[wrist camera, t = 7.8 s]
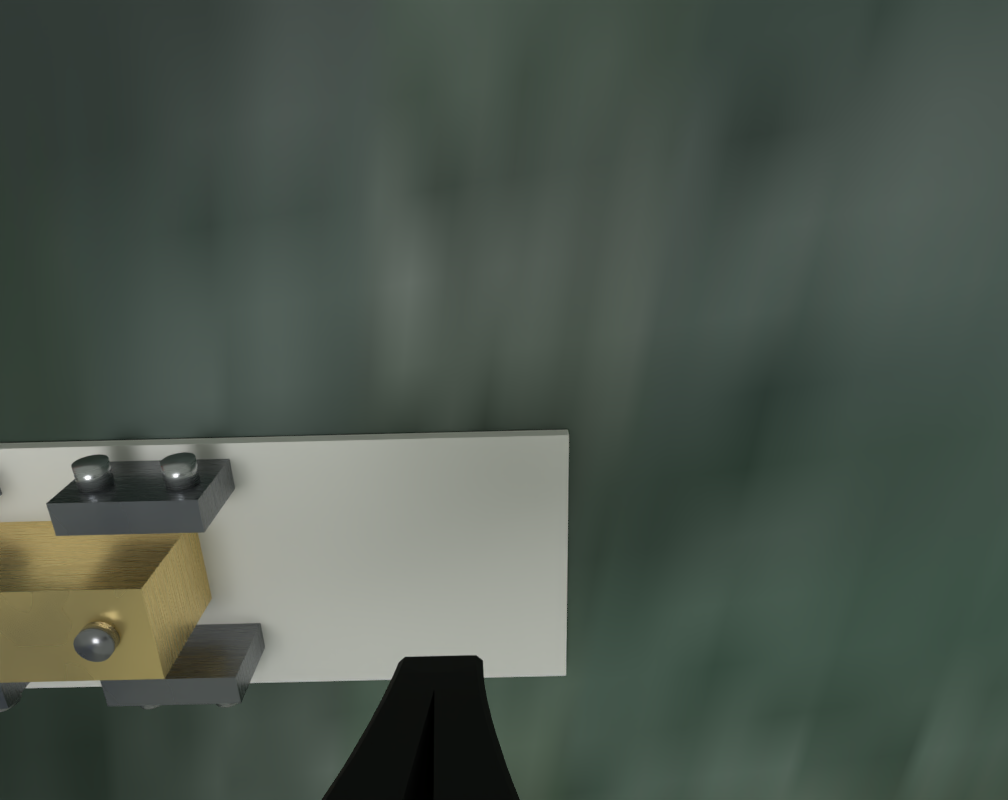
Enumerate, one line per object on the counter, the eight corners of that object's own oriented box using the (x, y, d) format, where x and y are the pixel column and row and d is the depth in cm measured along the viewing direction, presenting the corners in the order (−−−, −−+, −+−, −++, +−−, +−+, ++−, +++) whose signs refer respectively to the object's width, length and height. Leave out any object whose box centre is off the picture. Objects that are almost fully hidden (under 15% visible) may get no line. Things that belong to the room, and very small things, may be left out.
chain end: (268, 664, 24) (244, 720, 22) (149, 666, 24) (113, 723, 22) (225, 437, 21) (192, 476, 18) (88, 440, 21) (39, 480, 18)
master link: (211, 598, 23) (158, 689, 19) (-37, 604, 23) (-138, 696, 19) (194, 517, 22) (133, 598, 18) (-68, 523, 22) (-181, 606, 18)
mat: (565, 667, 25) (565, 675, 24) (-101, 682, 25) (-110, 691, 24) (567, 429, 21) (568, 435, 21) (-205, 448, 21) (-217, 454, 21)
